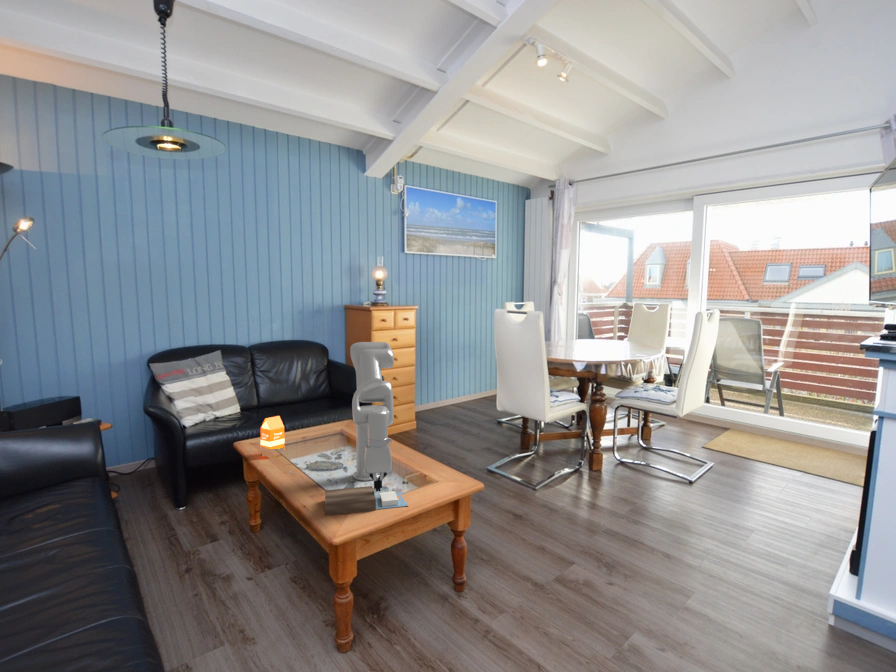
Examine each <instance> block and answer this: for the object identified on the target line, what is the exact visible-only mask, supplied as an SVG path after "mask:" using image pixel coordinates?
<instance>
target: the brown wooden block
mask: <svg viewBox="0 0 896 672" xmlns="http://www.w3.org/2000/svg"><path fill="white" fill-rule="evenodd" d="M324 491H325V492H324V515H325V516H331V515H340V514H341V515H342V514H350V513H353V514H354V513H360V512H369V511H370V512H371V511H376V498H375V495H376V494H375V491H374V486H372V485H368V486H356V487H346V488H345V487H344V488H336V489H335V488H334V489H325V490H324Z"/></svg>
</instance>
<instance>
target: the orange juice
mask: <svg viewBox="0 0 896 672" xmlns="http://www.w3.org/2000/svg"><path fill="white" fill-rule="evenodd" d="M285 441H286V439H285V425H284V424H283V420H282V419H281V416H280V415H274V416H271V417H266V418H264V420H263V422H262V425H261V426H260V447H261V446H262V447H265V448H268V449H280V448H283V447H284V448H285Z"/></svg>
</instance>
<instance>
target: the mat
mask: <svg viewBox="0 0 896 672" xmlns="http://www.w3.org/2000/svg"><path fill="white" fill-rule="evenodd" d="M396 495H397V496H399V499H398V505H394V506H383V507H382V504H381V500H380V493H379V494H375V498H376V510H385V509H394V508H395V509H396V508H404V507H406V506H407V507H409V505H408V502H407V500H406V501H404V499H403V498H402V497H401V496H400V495H404V493H403V492H402V491H401V492H398V491H397V492H396ZM407 507H406V508H407ZM376 510H375V511H376Z"/></svg>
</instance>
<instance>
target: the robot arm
mask: <svg viewBox="0 0 896 672" xmlns="http://www.w3.org/2000/svg"><path fill="white" fill-rule="evenodd" d="M349 349H350V350H349V351H350V359H351V362H352V365H353V368H354V370H355V376H356V377H355V379H356V390H355V392H354V393H353V397H352V401H351V402H352V403H351V407H352V409H351V410H352V413H351V414H352V420H353V423H354V426H355V433H356V434H355V435H356V437H355V438H356V440H355V442H356V444H355V445H356V446H355V447H356V449H355V450H356V452H355V453H356V456H355V457H356V467H355V468H356V471H354V472H353V473H352V478H354V480H357V481H366V482H367V481H368V482H369V481H373V490H374V489H375V491H376V492H381V489H382V488H383V480H384V479H385V477H386V476H389V475H392V474H393V470H392V467H393V466H392V453H391V447H390V446H391V445H390V443H392V441H393V439H392V438H389V429H388V428H389V426H390V427H391V426H392V425H393V423H394V419H395V410H394V408H395V407H394V392H393V391H394V390H393V386H392V384H391V382H389V381H387V380H383V375H382V369H392V368H393V366H394V365H395V355H394V351H393V350H392V349H393V348H392V347H391V346H390V344H389V343H388V342H386V341H359V342H355V343H353V344H351V346H350V348H349ZM360 403H382V404H374V405H373V404H372V405H371V404H369V405H361V406H360Z"/></svg>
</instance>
